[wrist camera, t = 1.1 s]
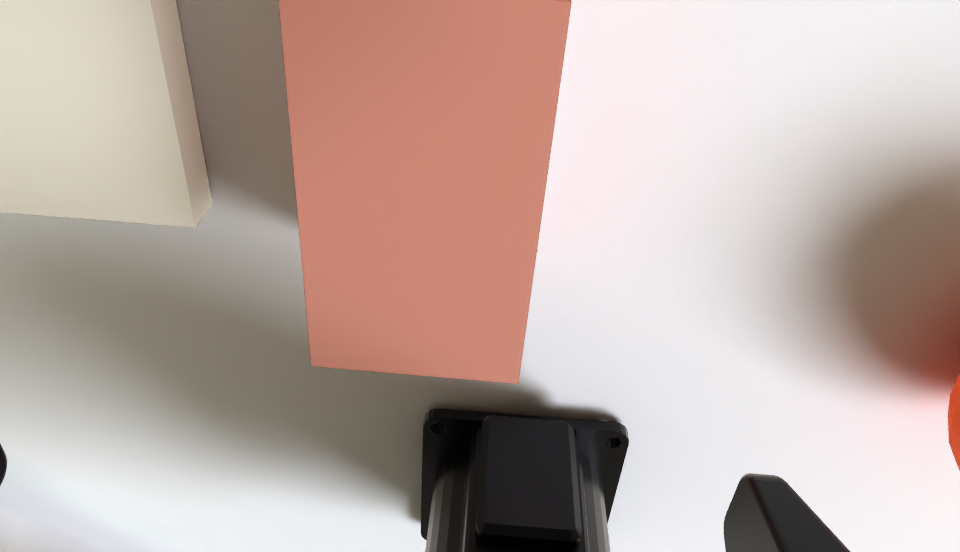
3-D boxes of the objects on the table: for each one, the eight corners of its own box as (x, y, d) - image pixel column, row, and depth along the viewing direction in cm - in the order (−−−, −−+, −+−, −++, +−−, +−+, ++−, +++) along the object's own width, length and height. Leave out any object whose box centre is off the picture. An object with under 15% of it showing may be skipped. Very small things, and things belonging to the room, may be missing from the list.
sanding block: (519, 256, 20) (518, 383, 15) (355, 242, 20) (311, 366, 15) (558, -61, 15) (571, 2, 11) (344, -80, 15) (275, -24, 11)
